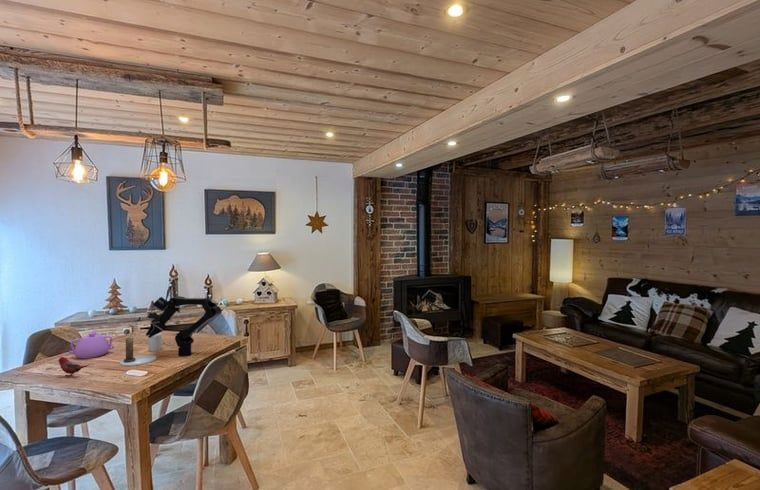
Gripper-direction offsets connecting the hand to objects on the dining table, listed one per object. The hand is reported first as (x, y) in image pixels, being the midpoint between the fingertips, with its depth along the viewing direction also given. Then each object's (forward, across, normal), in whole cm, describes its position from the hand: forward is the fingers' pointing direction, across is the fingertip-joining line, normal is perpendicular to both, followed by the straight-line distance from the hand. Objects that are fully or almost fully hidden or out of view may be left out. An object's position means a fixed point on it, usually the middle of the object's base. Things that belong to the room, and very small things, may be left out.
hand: (147, 336), depth 218 cm
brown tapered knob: (+15, +1, +2) cm, 16 cm away
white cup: (+5, -19, +13) cm, 23 cm away
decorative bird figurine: (+33, +8, -16) cm, 38 cm away
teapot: (+25, -32, -11) cm, 42 cm away
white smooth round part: (+13, 0, +6) cm, 14 cm away
